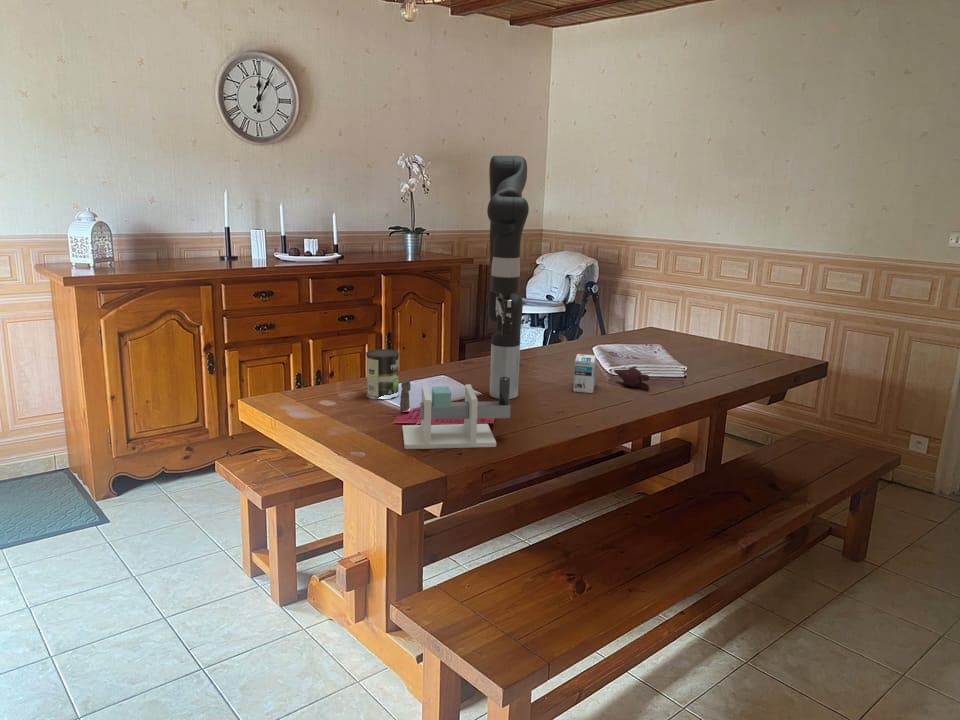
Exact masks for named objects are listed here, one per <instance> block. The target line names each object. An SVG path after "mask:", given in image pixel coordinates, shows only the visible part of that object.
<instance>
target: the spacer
mask: <svg viewBox="0 0 960 720" xmlns="http://www.w3.org/2000/svg"><path fill="white" fill-rule="evenodd" d="M431 402H432V403H433V407H434V408H451V402H452V391H451V389H450V387H449V386H432V387H431Z"/></svg>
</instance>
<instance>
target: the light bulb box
mask: <svg viewBox="0 0 960 720" xmlns="http://www.w3.org/2000/svg"><path fill="white" fill-rule="evenodd" d="M596 366H597V355H595V354H594V355H593V354H582V353H577V354H576V357H575V360H574V375H573V376H574V377H573V389H572V390H573V392H575V393H577V392H578V393H589V394H593V392H594V388H595V378H596Z"/></svg>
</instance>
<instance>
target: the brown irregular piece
mask: <svg viewBox="0 0 960 720" xmlns="http://www.w3.org/2000/svg"><path fill="white" fill-rule="evenodd" d="M613 372H614V373H615V374H616V375H617V376H618V377H619V378H620V379H621V380H622V381H623V384H624V386H625V387H631V388H635V387H636V388H637V387H638V386H639V387H640V388H641V389H643V390H645V391H649V390H650V386H649V385H648V384H647V383H644V382H648V381H649V380H650V375H649V374H645V373H642V371H641V370H639V369H637V368H636V367H629V368H626V369H623V368H622V369H614V370H613Z"/></svg>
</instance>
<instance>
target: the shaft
mask: <svg viewBox="0 0 960 720" xmlns="http://www.w3.org/2000/svg"><path fill="white" fill-rule="evenodd" d="M509 392H510V378H508V377H500V382H499V399H498V401H495V400H494V401H492V400H491V401H488V400H487V401H478V405H477V420H478V419H480V420H482V419H510V418H511V403H510V399H509ZM419 404H420V405H419V416H420V421H422V420H424V403H423V402H422V401H421V402H420V403H419ZM431 419H439V420H459V419H461V420H463V419H469V403H468V402H465V401H451V408H434V407H433V403H432V401H431Z"/></svg>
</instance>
